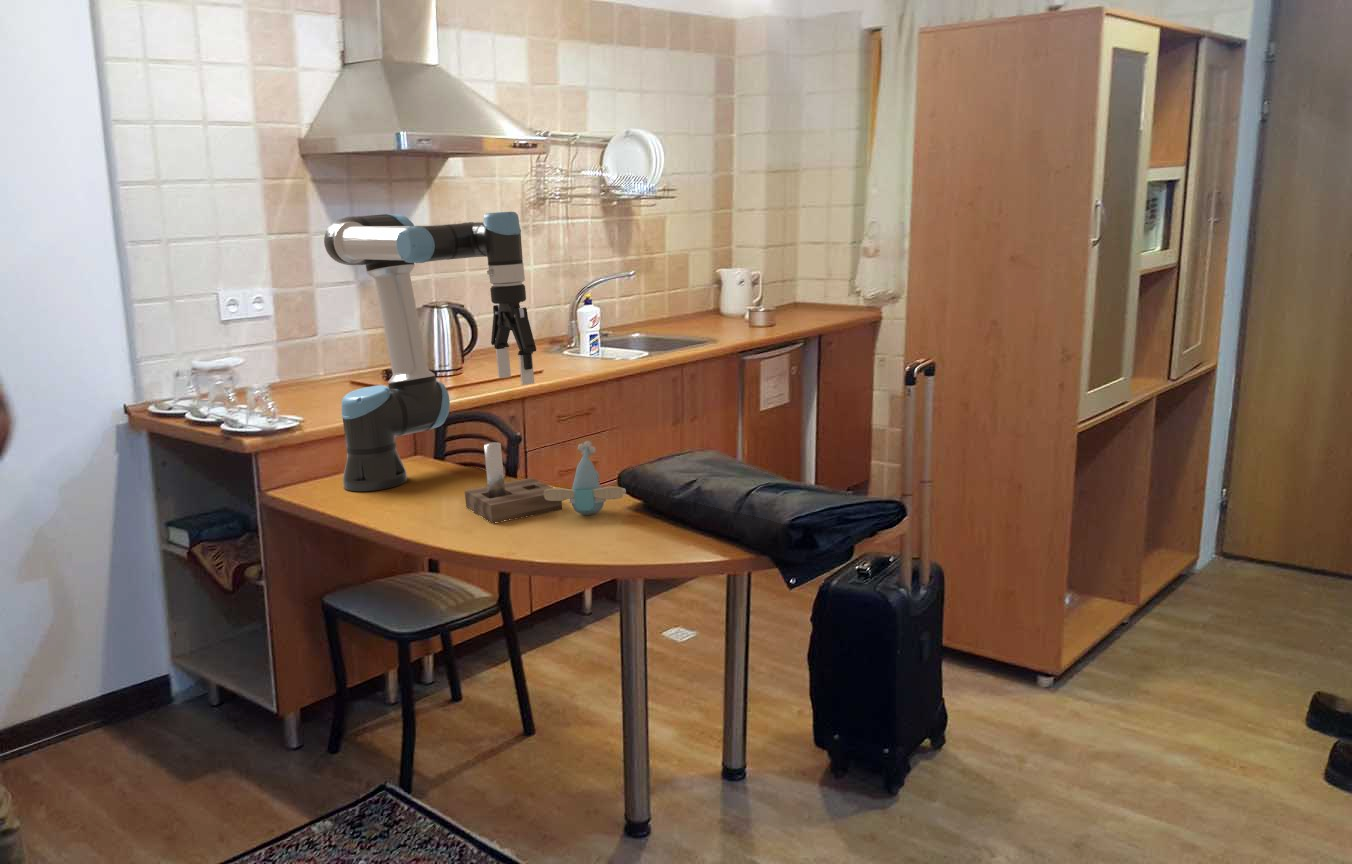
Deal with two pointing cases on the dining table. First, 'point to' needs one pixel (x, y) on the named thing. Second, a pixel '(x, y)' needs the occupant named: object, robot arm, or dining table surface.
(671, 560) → the dining table surface
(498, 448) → the pin
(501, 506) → the block
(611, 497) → the toy figure
